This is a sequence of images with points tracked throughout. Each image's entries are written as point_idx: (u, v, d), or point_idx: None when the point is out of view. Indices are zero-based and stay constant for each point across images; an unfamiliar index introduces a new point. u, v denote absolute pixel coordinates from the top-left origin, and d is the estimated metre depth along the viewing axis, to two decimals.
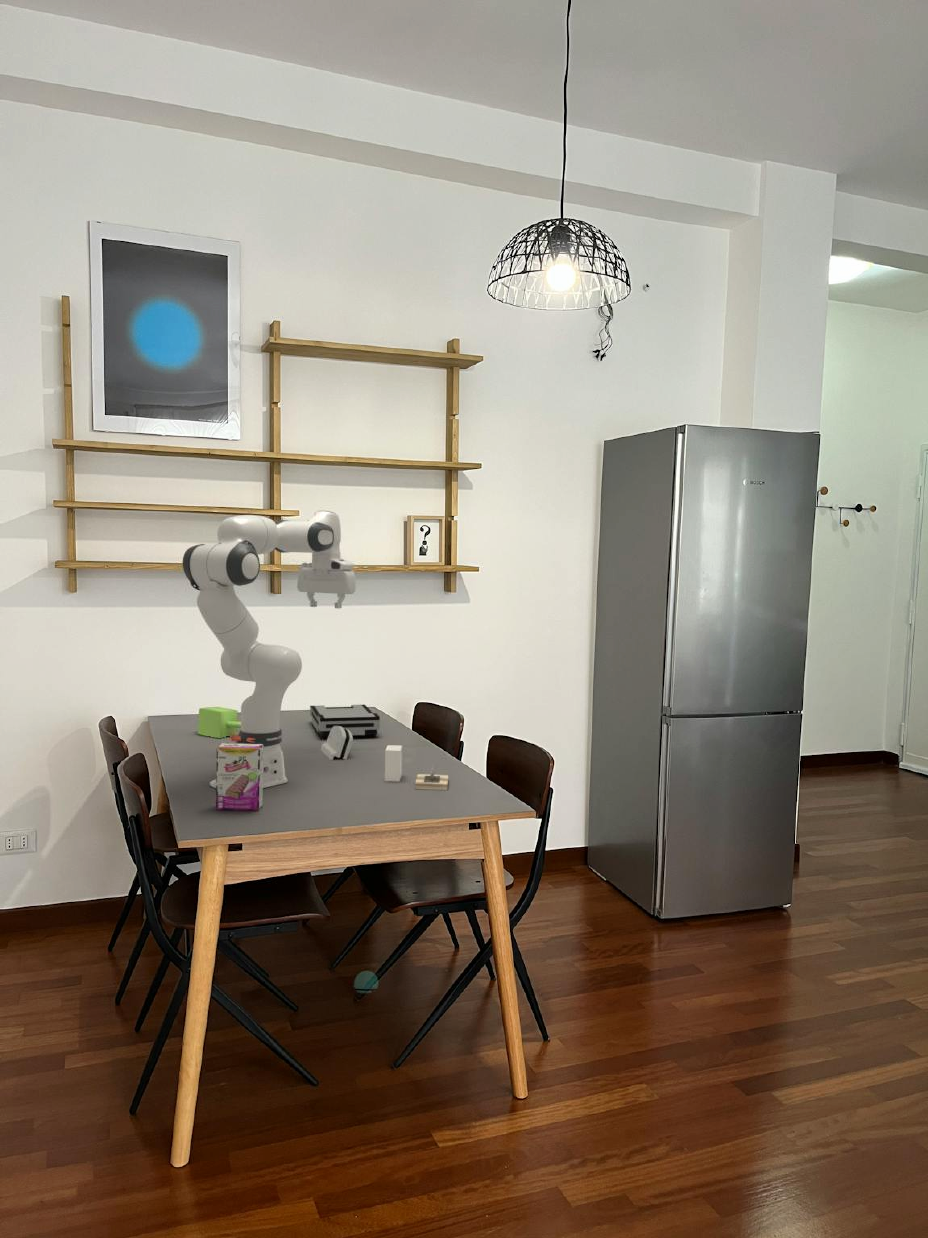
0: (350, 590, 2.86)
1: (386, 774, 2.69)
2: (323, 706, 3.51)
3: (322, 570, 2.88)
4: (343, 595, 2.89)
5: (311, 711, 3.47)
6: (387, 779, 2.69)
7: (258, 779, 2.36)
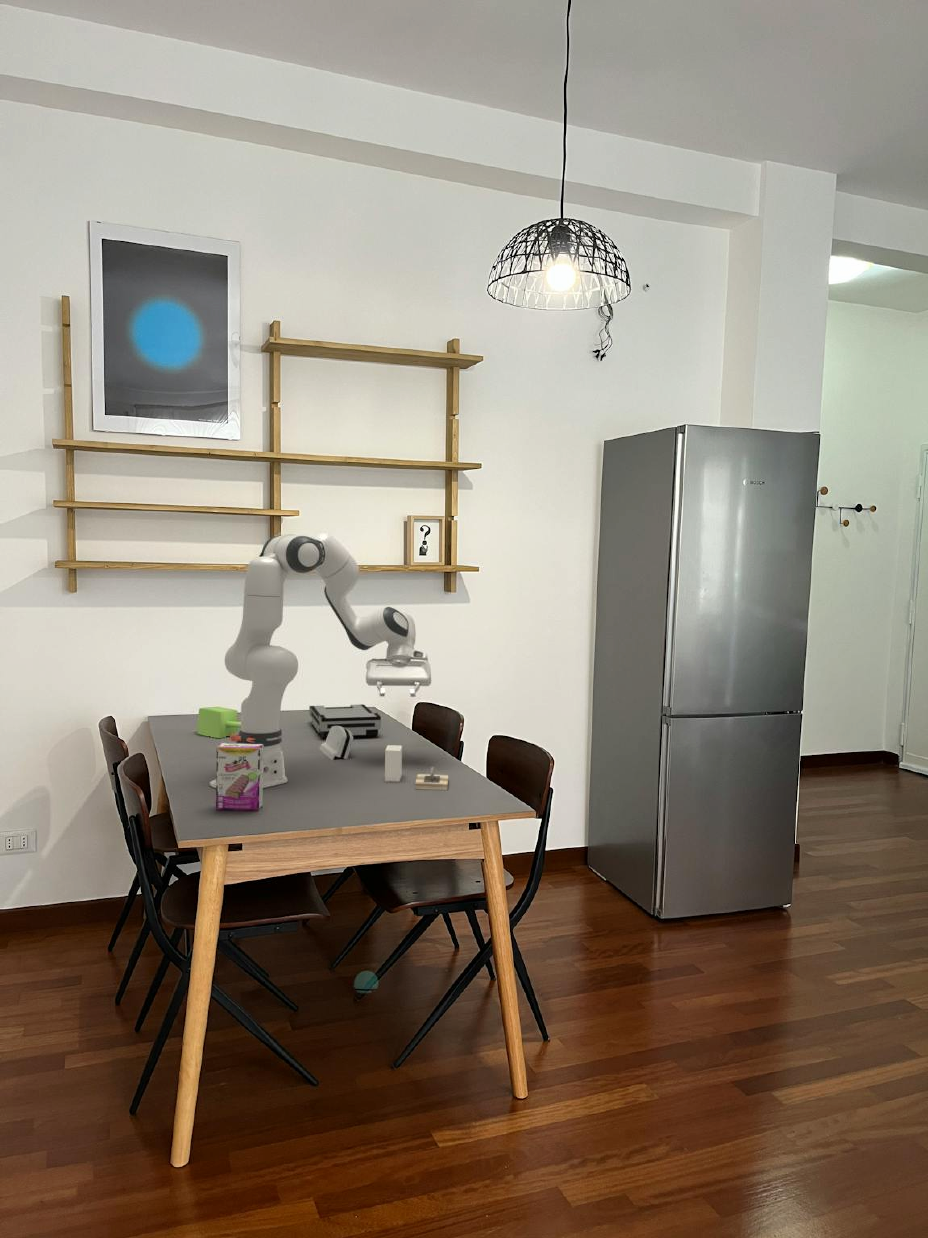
0: (430, 678, 2.86)
1: (386, 774, 2.69)
2: (322, 706, 3.50)
3: (401, 658, 2.88)
4: (419, 685, 2.86)
5: (311, 711, 3.47)
6: (387, 779, 2.69)
7: (258, 779, 2.36)
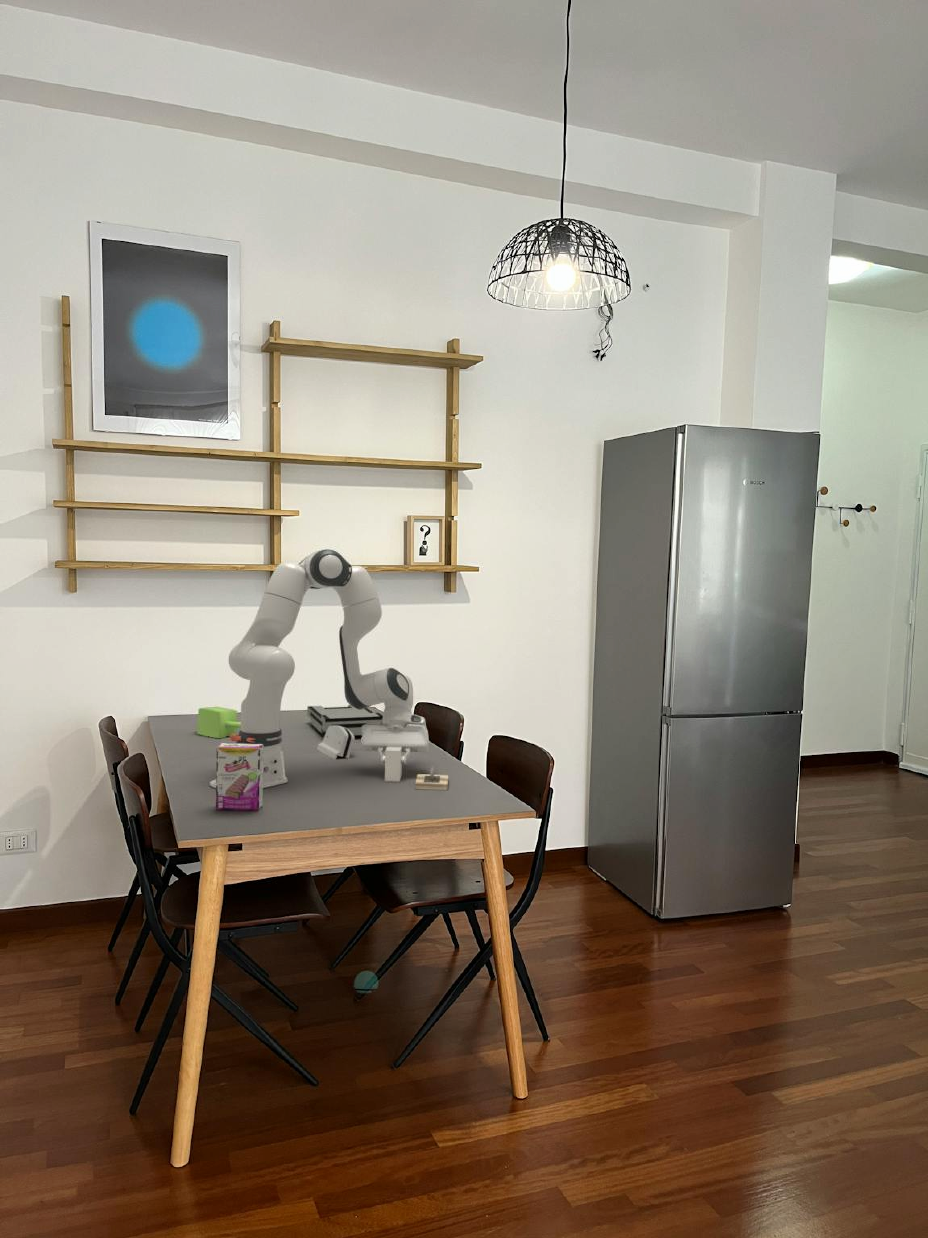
0: (428, 744, 2.74)
1: (386, 774, 2.69)
2: (321, 706, 3.50)
3: (398, 723, 2.76)
4: (410, 751, 2.74)
5: (309, 712, 3.46)
6: (387, 779, 2.69)
7: (258, 779, 2.36)
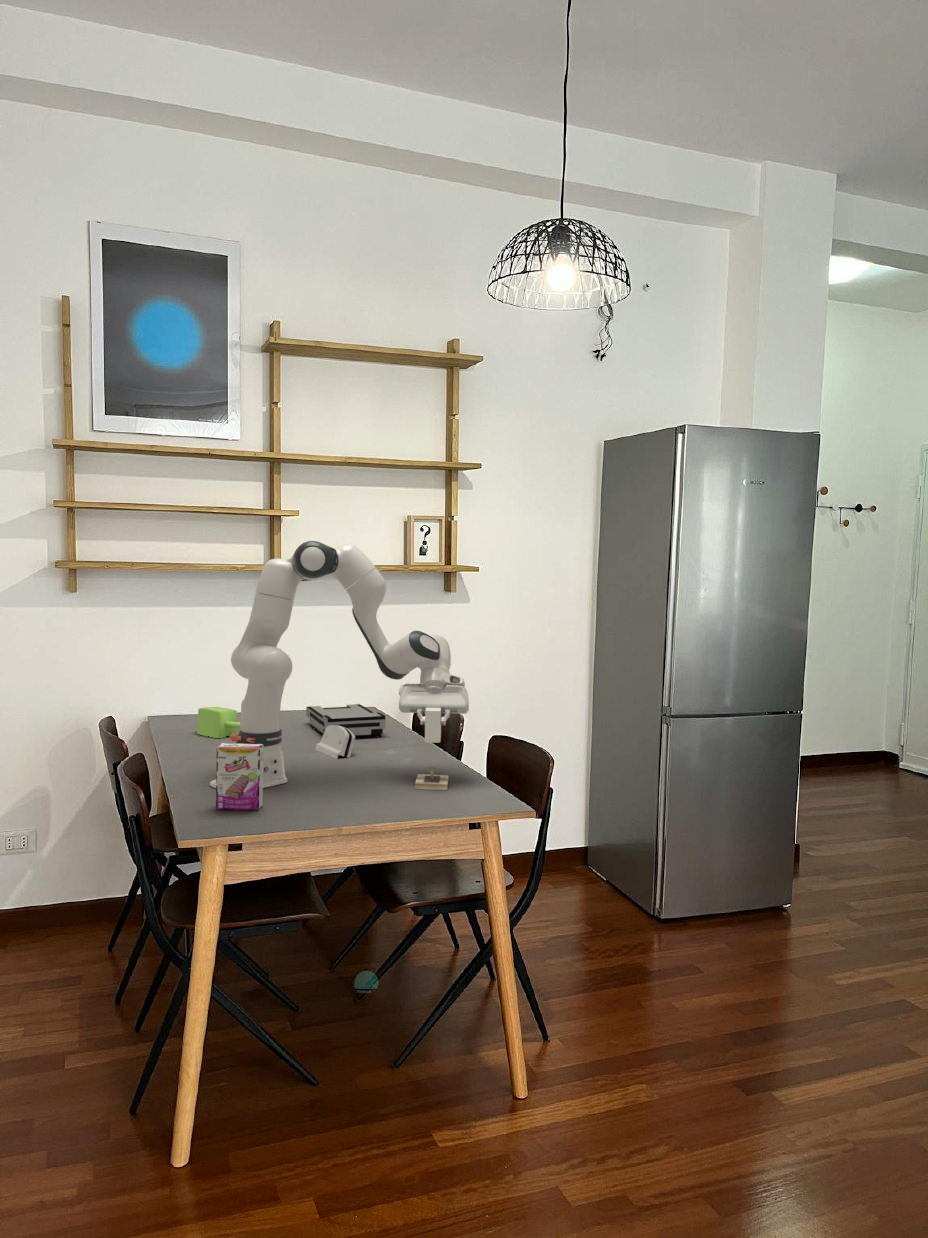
0: (468, 705, 2.67)
1: (426, 735, 2.62)
2: (320, 707, 3.49)
3: (437, 684, 2.70)
4: (449, 712, 2.67)
5: (309, 712, 3.45)
6: (427, 740, 2.62)
7: (258, 779, 2.36)
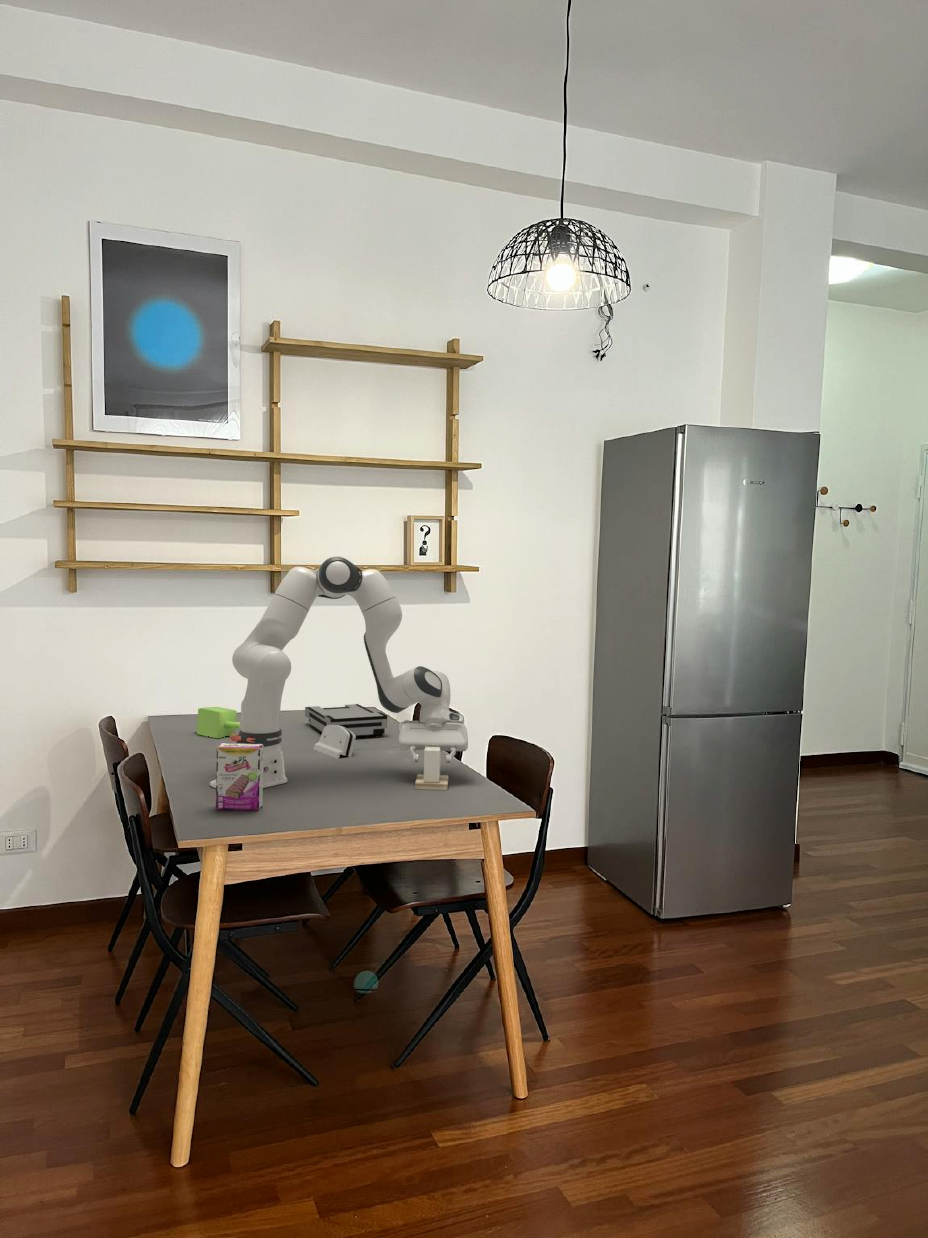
0: (467, 743, 2.68)
1: (425, 775, 2.62)
2: (319, 707, 3.49)
3: (436, 721, 2.70)
4: (455, 750, 2.68)
5: (308, 712, 3.44)
6: (426, 780, 2.63)
7: (258, 779, 2.36)
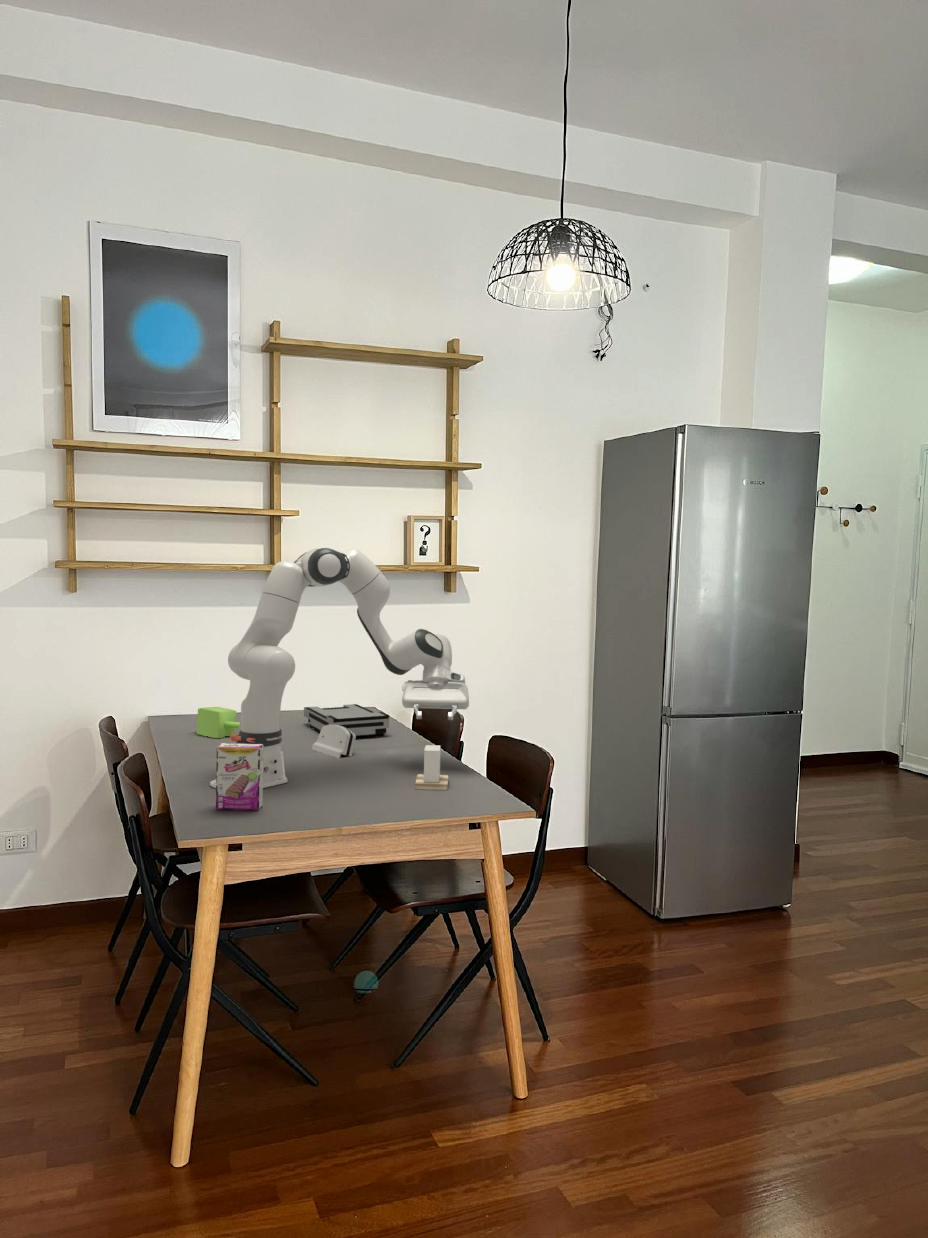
0: (468, 701, 2.80)
1: (425, 775, 2.62)
2: (318, 707, 3.48)
3: (439, 681, 2.82)
4: (457, 708, 2.80)
5: (308, 713, 3.44)
6: (426, 780, 2.63)
7: (258, 779, 2.36)
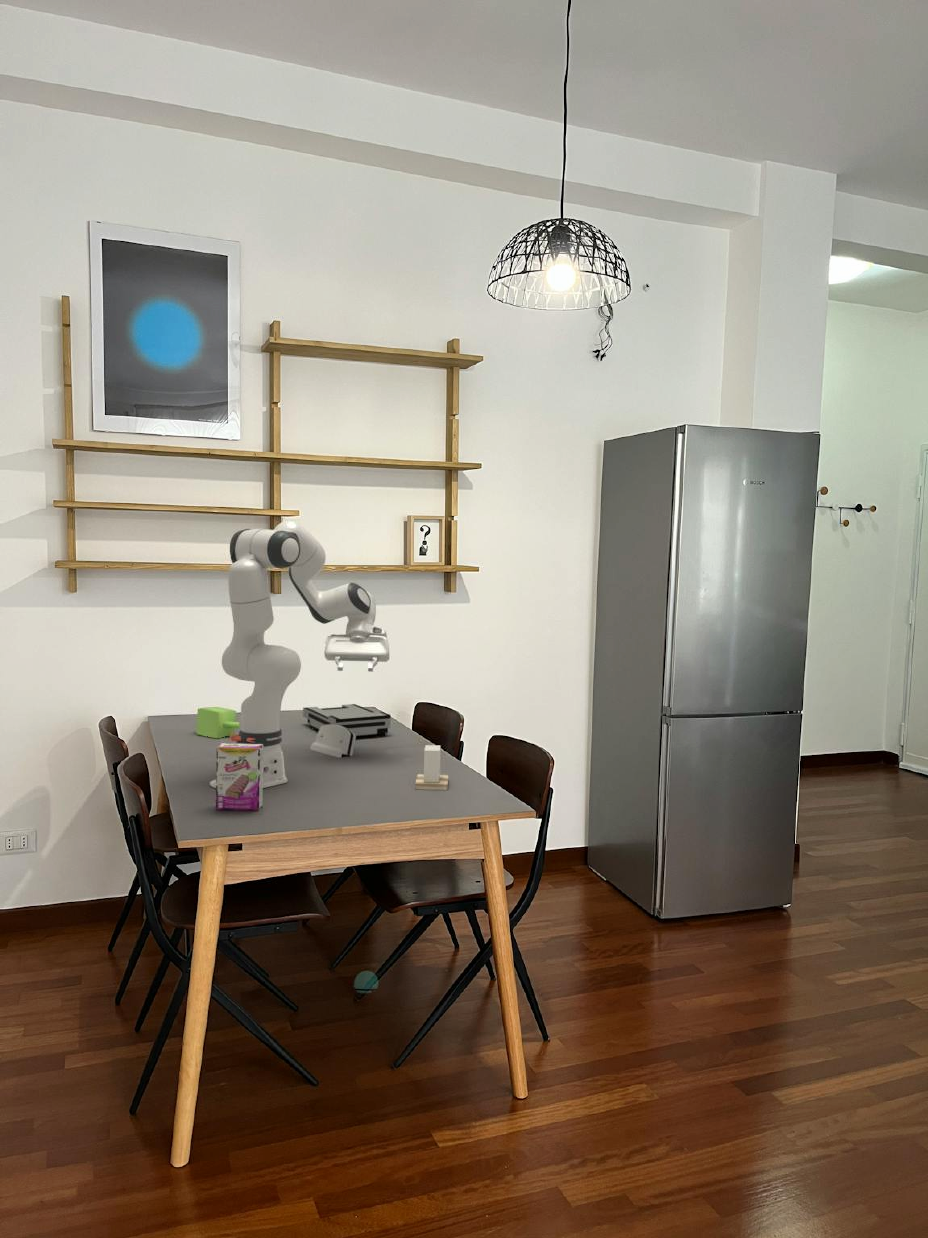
0: (388, 653, 2.89)
1: (425, 775, 2.62)
2: (317, 707, 3.48)
3: (360, 634, 2.92)
4: (377, 660, 2.89)
5: (307, 713, 3.43)
6: (426, 780, 2.63)
7: (258, 779, 2.36)
